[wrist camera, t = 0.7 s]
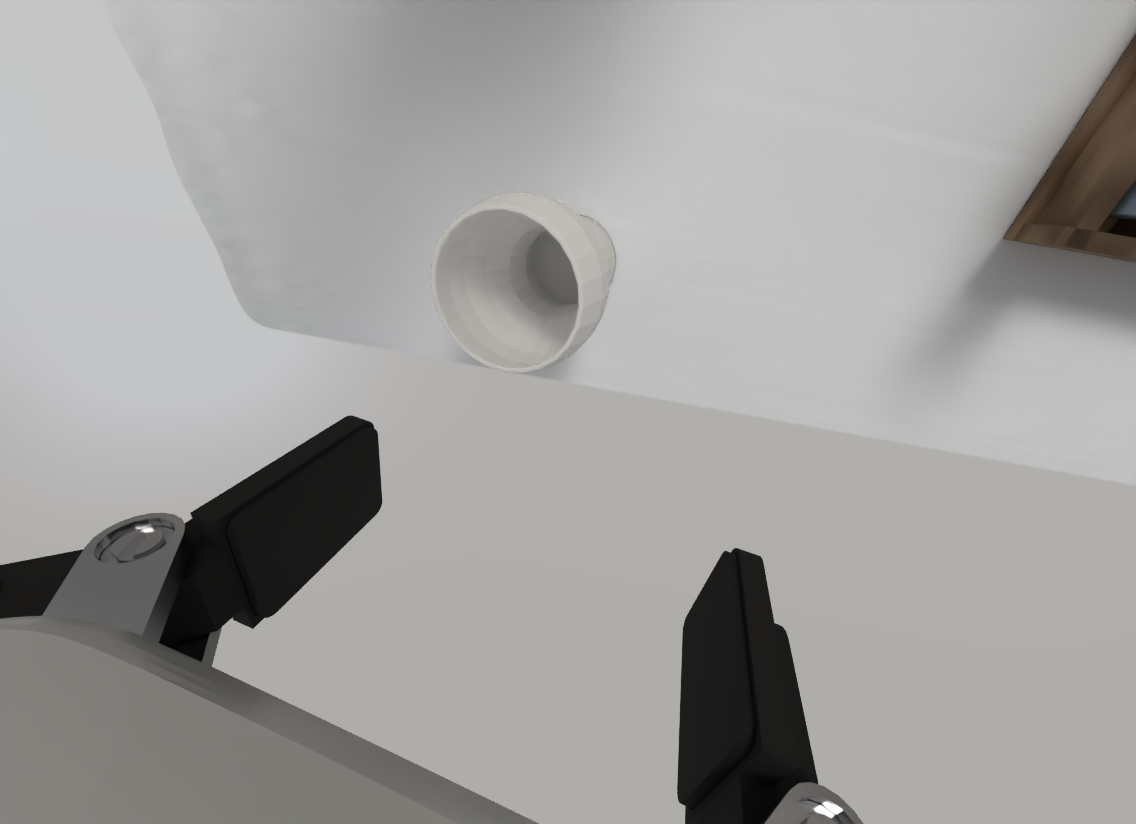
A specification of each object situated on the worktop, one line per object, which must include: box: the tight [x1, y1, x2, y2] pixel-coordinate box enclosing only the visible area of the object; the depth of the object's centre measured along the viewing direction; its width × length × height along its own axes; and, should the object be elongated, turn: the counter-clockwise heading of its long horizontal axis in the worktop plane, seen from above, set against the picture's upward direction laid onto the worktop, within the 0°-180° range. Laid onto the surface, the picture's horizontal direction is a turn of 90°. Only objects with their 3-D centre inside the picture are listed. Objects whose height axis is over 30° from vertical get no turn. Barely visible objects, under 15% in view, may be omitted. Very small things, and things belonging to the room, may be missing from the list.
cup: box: [431, 192, 615, 373], centre depth 30 cm, size 11×11×15 cm
